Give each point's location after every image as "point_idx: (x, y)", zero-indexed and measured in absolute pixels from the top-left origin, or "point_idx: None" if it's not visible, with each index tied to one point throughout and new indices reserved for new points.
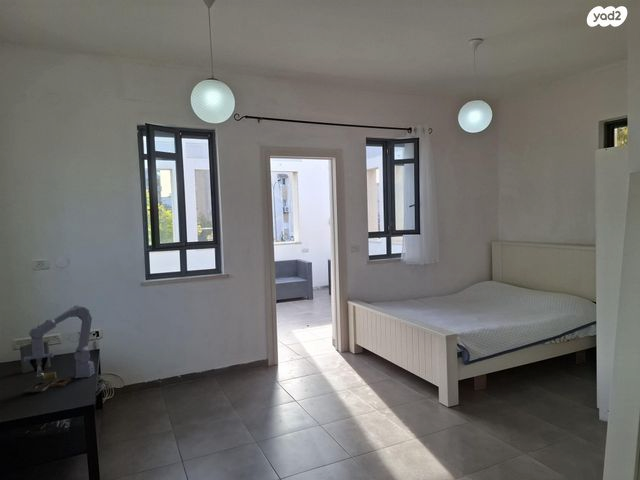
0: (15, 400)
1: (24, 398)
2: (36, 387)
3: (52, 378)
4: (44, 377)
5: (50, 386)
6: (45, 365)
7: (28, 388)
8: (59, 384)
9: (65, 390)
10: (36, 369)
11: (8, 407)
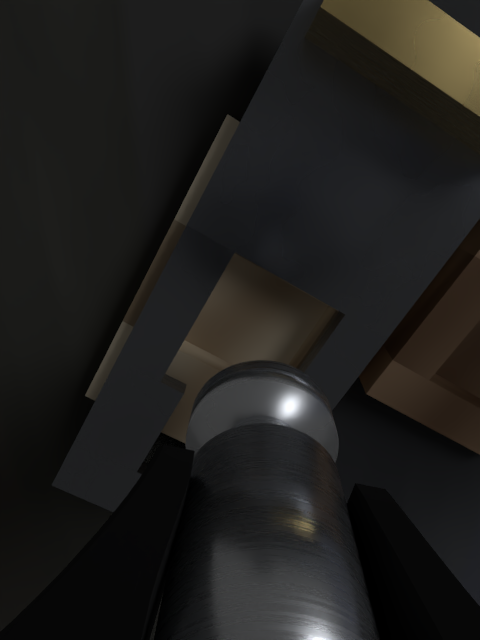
0: (19, 513)
1: (98, 516)
2: (198, 359)
3: (454, 150)
4: (331, 47)
5: (365, 380)
6: (472, 607)
7: (100, 414)
8: (472, 445)
9: (477, 558)
10: (168, 565)
11: (2, 628)
